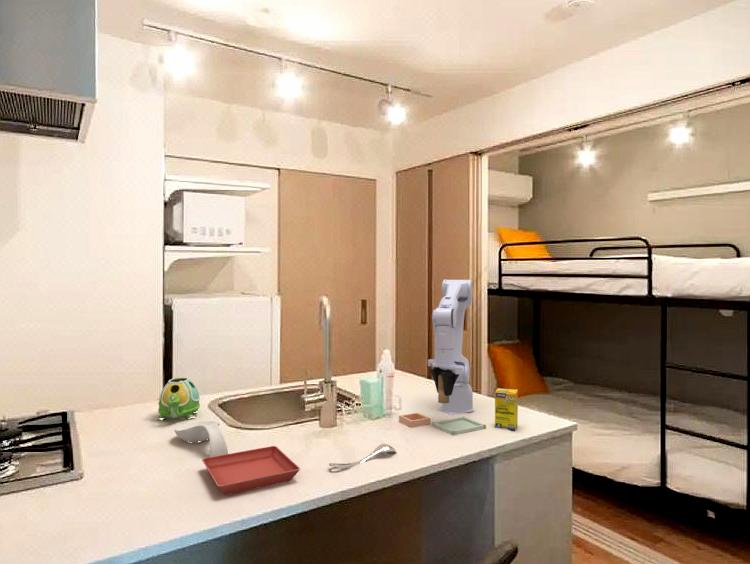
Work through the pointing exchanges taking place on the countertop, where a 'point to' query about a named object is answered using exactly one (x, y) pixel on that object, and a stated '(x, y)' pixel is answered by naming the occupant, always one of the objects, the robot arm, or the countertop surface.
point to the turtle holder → (178, 399)
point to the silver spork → (379, 449)
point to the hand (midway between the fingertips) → (444, 393)
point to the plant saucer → (250, 469)
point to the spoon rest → (204, 435)
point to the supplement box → (506, 408)
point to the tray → (458, 425)
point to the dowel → (441, 391)
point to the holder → (414, 420)
